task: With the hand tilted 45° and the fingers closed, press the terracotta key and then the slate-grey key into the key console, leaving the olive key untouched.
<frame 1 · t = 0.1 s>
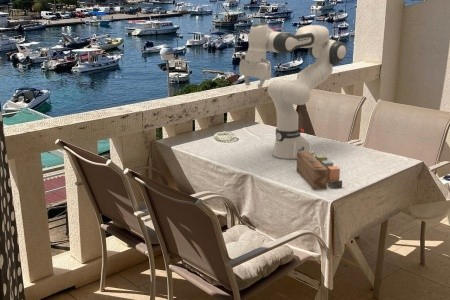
hand: (253, 86, 279), 39 cm above the table, tool pointing down, fingers open, 8 cm apart
key console: (317, 178, 268), on the table
olive key: (320, 163, 275), point 4 cm above the table, slide at 0.0 cm
terracotta key: (333, 175, 259), point 4 cm above the table, slide at 0.0 cm
slate key: (326, 169, 267), point 4 cm above the table, slide at 0.0 cm
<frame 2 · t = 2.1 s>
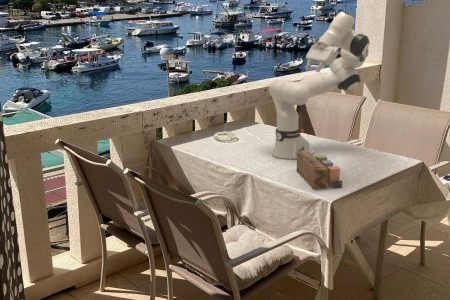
hand: (311, 70, 257), 50 cm above the table, tool tilted 35°, fingers open, 8 cm apart
nothing on the table moved.
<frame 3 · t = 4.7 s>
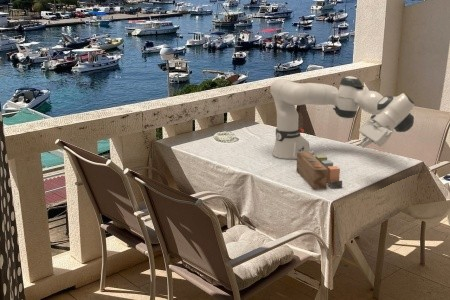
hand: (361, 146, 257), 17 cm above the table, tool tilted 45°, fingers closed
nothing on the table moved.
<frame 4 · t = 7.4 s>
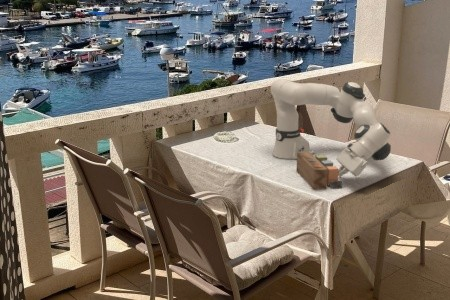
hand: (337, 175, 259), 4 cm above the table, tool tilted 45°, fingers closed, pressing on terracotta key
terracotta key: (331, 175, 259), point 4 cm above the table, slide at 0.7 cm, touching gripper
everything else where it was.
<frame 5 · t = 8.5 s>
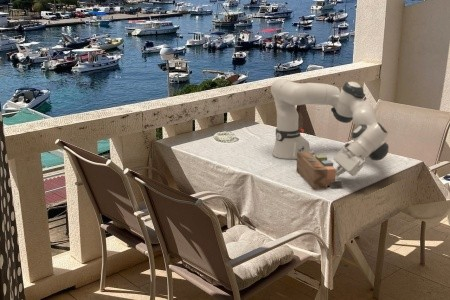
hand: (335, 174, 259), 5 cm above the table, tool tilted 45°, fingers closed
terracotta key: (328, 175, 259), point 4 cm above the table, slide at 2.0 cm
everything else where it was.
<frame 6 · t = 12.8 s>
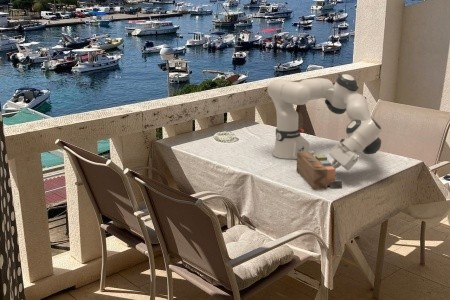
hand: (330, 169, 267), 4 cm above the table, tool tilted 45°, fingers closed, pressing on slate key
slate key: (324, 169, 267), point 4 cm above the table, slide at 1.1 cm, touching gripper
everything else where it was.
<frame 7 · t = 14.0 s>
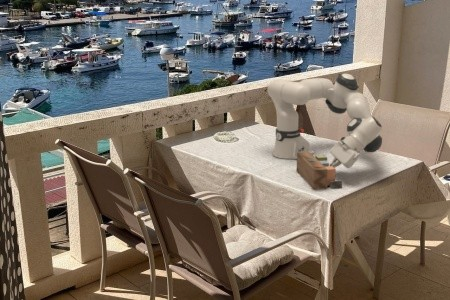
hand: (331, 167, 267), 5 cm above the table, tool tilted 45°, fingers closed
slate key: (322, 169, 267), point 4 cm above the table, slide at 2.0 cm
everything else where it was.
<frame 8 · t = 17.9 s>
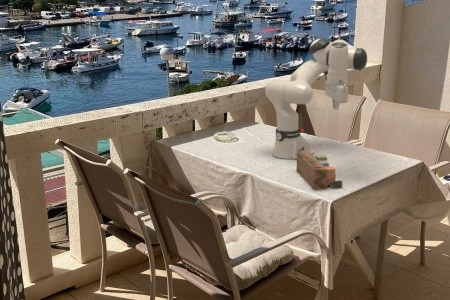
hand: (335, 108, 267), 31 cm above the table, tool pointing down, fingers closed
nothing on the table moved.
at the end: terracotta key slide at 2.0 cm; slate key slide at 2.0 cm; olive key slide at 0.0 cm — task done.
